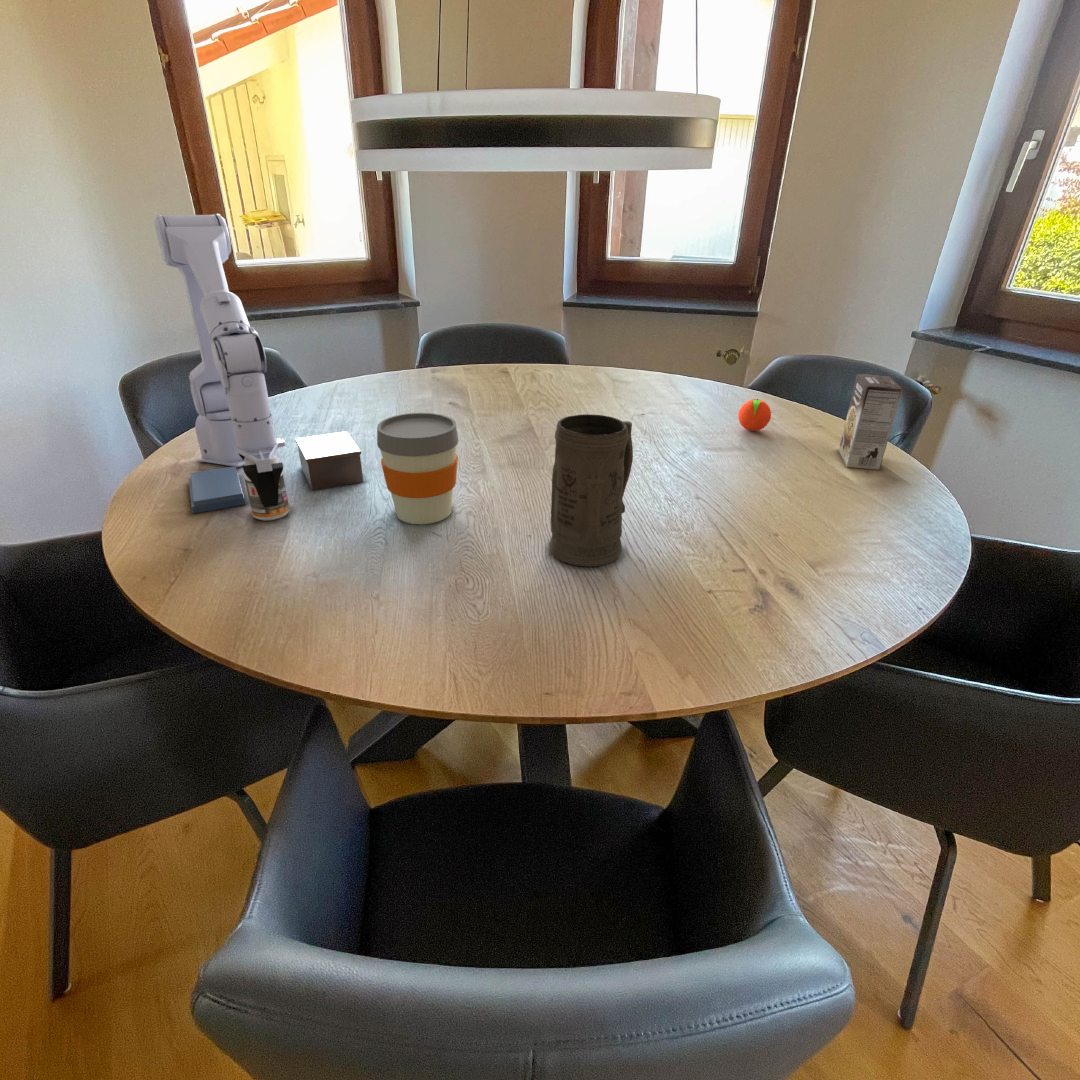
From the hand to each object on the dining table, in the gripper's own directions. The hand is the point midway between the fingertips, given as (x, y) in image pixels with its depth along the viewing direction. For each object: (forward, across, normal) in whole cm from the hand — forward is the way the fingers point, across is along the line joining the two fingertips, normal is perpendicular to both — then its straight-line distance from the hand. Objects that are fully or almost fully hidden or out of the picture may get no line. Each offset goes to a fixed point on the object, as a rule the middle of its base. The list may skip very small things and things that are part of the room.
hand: (268, 497), depth 106 cm
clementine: (+3, -2, -101) cm, 101 cm away
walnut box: (+3, +12, -12) cm, 17 cm away
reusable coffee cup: (+3, -10, -23) cm, 25 cm away
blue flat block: (+3, +12, +7) cm, 14 cm away
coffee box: (+3, -25, -108) cm, 111 cm away
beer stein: (+3, -31, -42) cm, 53 cm away
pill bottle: (+3, 0, 0) cm, 3 cm away
